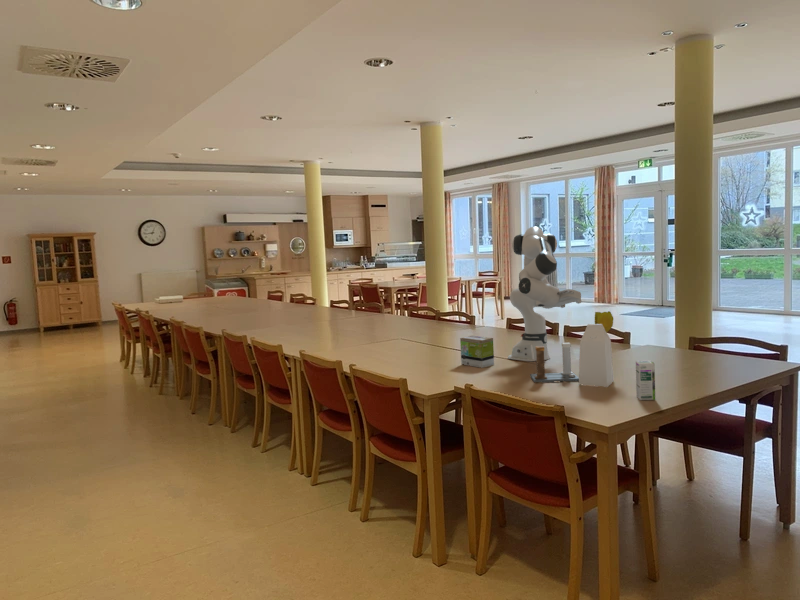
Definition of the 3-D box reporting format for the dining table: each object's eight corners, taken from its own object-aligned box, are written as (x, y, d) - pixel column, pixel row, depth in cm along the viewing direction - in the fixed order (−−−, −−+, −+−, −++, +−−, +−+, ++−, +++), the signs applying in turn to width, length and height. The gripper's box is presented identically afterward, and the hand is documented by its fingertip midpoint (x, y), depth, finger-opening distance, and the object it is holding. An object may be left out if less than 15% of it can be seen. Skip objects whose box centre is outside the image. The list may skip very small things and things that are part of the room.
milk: (613, 381, 257) (612, 322, 255) (607, 387, 248) (605, 326, 246) (586, 379, 264) (584, 322, 262) (578, 384, 254) (577, 325, 252)
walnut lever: (536, 378, 264) (534, 347, 262) (534, 376, 268) (533, 346, 266) (547, 378, 263) (546, 347, 262) (545, 376, 267) (544, 345, 266)
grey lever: (562, 374, 269) (561, 344, 268) (560, 372, 273) (559, 342, 272) (573, 374, 269) (572, 343, 267) (571, 372, 273) (570, 342, 271)
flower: (615, 378, 263) (614, 311, 261) (596, 378, 265) (595, 312, 262) (613, 373, 271) (612, 309, 269) (595, 373, 273) (593, 310, 271)
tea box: (460, 365, 311) (459, 337, 310) (473, 361, 318) (472, 335, 317) (482, 368, 300) (481, 339, 299) (494, 365, 307) (493, 337, 305)
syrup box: (639, 400, 225) (639, 363, 223) (636, 396, 230) (635, 360, 229) (655, 400, 224) (654, 362, 223) (651, 396, 230) (650, 359, 228)
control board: (534, 382, 262) (534, 377, 262) (530, 376, 275) (529, 371, 275) (579, 381, 261) (579, 375, 261) (573, 374, 274) (573, 369, 273)
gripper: (568, 283, 253) (590, 292, 259) (534, 293, 269) (555, 302, 276) (567, 297, 251) (589, 305, 257) (533, 306, 267) (555, 314, 274)
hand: (571, 303), depth 267 cm, fingers open, 8 cm apart
